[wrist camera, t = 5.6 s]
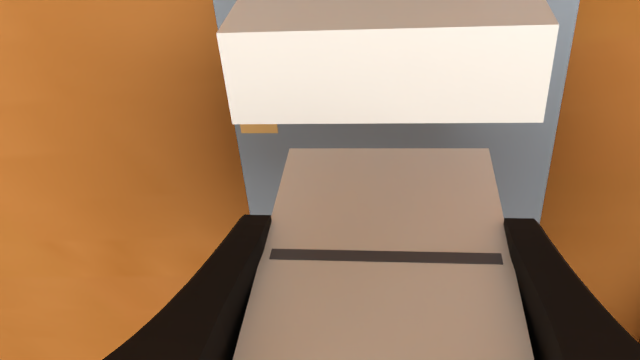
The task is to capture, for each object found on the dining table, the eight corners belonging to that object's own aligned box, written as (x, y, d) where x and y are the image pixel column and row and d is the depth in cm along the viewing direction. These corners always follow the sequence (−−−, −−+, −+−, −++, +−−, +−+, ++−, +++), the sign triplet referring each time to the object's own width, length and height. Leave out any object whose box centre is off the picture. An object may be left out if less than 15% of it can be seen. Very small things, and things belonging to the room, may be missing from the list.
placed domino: (482, 200, 16) (538, 510, 10) (295, 198, 17) (228, 488, 10) (488, 147, 15) (555, 452, 9) (289, 147, 16) (212, 431, 9)
